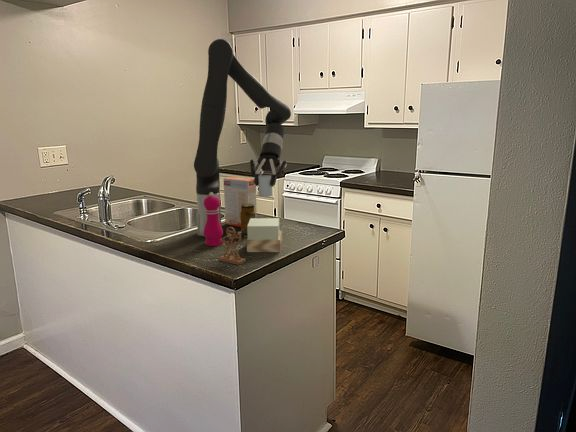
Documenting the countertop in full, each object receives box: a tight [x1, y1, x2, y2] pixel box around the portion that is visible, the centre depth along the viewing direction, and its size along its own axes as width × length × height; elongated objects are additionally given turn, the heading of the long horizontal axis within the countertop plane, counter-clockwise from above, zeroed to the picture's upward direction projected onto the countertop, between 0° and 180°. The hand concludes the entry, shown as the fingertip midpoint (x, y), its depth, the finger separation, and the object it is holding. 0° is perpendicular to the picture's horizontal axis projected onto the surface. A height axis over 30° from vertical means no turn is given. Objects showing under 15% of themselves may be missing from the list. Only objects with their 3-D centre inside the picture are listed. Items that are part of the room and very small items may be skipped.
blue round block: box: [257, 174, 273, 198], centre depth 158 cm, size 5×5×7 cm
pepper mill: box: [203, 192, 224, 247], centre depth 164 cm, size 7×7×20 cm
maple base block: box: [246, 230, 283, 253], centre depth 162 cm, size 12×12×5 cm
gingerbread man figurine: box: [218, 226, 247, 266], centre depth 147 cm, size 9×4×12 cm, turn 58°
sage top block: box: [247, 217, 280, 240], centre depth 161 cm, size 11×11×5 cm
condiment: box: [236, 204, 256, 238], centre depth 178 cm, size 7×8×12 cm
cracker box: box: [223, 176, 258, 228], centre depth 189 cm, size 14×6×21 cm, turn 53°
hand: (264, 184), depth 156 cm, fingers closed on blue round block, 5 cm apart
